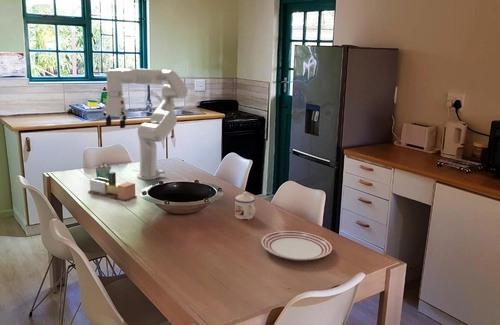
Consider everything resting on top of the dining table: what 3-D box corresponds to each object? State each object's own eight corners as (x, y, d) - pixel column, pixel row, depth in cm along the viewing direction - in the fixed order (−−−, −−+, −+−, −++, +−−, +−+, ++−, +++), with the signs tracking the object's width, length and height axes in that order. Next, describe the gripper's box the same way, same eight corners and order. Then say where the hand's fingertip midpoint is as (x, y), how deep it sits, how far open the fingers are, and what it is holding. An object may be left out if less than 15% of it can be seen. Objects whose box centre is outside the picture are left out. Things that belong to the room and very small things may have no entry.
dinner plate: (287, 231, 203) (287, 224, 202) (344, 250, 186) (344, 242, 186) (246, 250, 182) (247, 242, 182) (306, 274, 166) (307, 265, 165)
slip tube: (105, 191, 238) (104, 172, 236) (110, 189, 242) (110, 170, 239) (125, 196, 232) (125, 177, 230) (131, 194, 236) (131, 175, 233)
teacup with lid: (230, 215, 219) (231, 191, 216) (245, 211, 224) (246, 188, 221) (246, 223, 209) (247, 198, 207) (261, 219, 215) (263, 195, 212)
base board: (88, 192, 241) (88, 191, 241) (99, 189, 248) (99, 187, 248) (125, 202, 230) (125, 200, 230) (136, 197, 237) (136, 195, 237)
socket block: (117, 197, 233) (117, 185, 231) (127, 194, 239) (127, 181, 237) (125, 199, 231) (125, 187, 229) (135, 196, 237) (135, 183, 235)
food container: (107, 186, 254) (107, 168, 251) (96, 185, 254) (95, 167, 251) (114, 179, 265) (114, 162, 263) (103, 179, 266) (103, 162, 263)
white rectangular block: (90, 190, 242) (90, 179, 240) (99, 187, 247) (98, 176, 245) (105, 194, 237) (104, 182, 236) (113, 191, 242) (113, 180, 241)
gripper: (132, 95, 243) (133, 127, 247) (107, 92, 251) (108, 123, 255) (122, 96, 237) (123, 129, 241) (97, 93, 244) (98, 125, 248)
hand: (115, 126), depth 248 cm, fingers open, 9 cm apart
